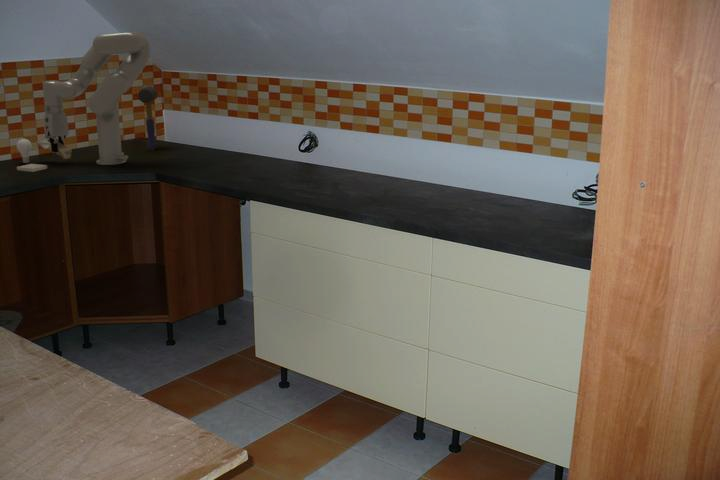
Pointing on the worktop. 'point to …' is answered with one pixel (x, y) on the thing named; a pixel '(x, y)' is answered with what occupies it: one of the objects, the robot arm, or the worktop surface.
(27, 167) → the tile
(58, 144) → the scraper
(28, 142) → the lightbulb
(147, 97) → the rubber mallet
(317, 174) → the worktop surface
